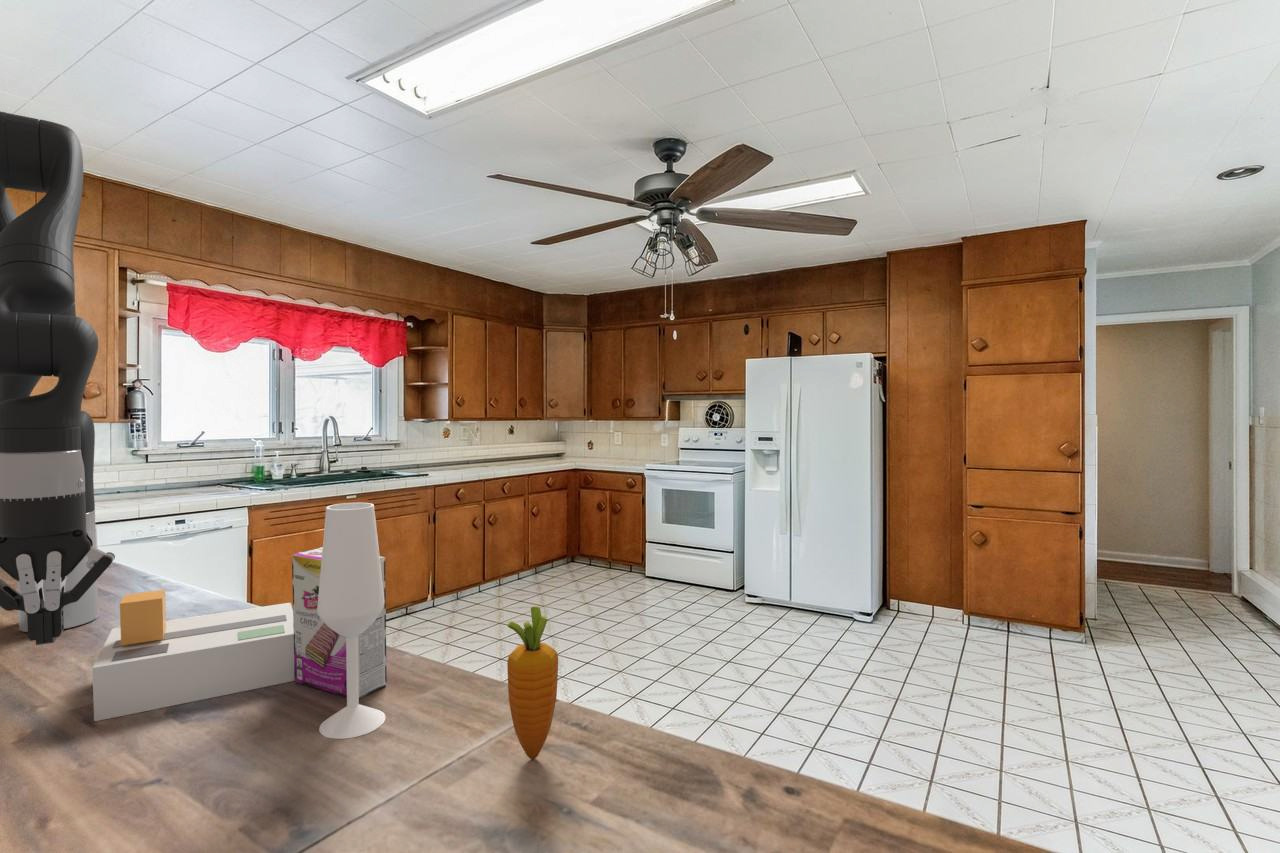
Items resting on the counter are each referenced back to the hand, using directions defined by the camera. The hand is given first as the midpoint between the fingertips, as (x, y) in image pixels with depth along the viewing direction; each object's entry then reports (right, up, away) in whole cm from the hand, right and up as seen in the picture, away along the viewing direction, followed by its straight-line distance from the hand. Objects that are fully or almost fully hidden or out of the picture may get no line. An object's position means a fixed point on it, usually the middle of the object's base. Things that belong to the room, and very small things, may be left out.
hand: (46, 641), depth 73 cm
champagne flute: (+36, -8, -3) cm, 37 cm away
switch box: (+13, -7, +8) cm, 17 cm away
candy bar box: (+30, -8, +7) cm, 32 cm away
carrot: (+57, -9, -9) cm, 59 cm away
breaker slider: (+7, -1, +5) cm, 9 cm away
